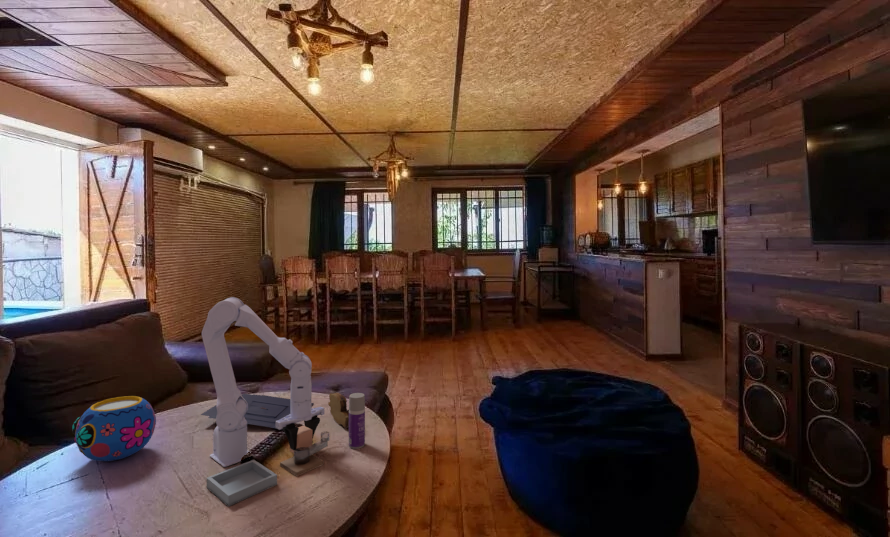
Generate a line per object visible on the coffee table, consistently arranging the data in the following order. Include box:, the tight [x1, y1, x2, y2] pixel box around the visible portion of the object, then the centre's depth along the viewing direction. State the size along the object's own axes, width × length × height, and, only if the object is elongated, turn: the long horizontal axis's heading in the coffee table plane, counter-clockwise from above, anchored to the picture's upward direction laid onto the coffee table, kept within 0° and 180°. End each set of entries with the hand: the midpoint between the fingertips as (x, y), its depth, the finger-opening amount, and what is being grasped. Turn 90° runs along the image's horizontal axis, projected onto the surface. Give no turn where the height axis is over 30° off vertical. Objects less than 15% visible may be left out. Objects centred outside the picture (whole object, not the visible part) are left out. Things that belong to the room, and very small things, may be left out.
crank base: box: [279, 454, 324, 477], centre depth 112 cm, size 8×8×1 cm
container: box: [348, 392, 366, 450], centre depth 124 cm, size 5×5×15 cm
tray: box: [206, 459, 278, 507], centre depth 102 cm, size 12×12×2 cm
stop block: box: [289, 425, 313, 454], centre depth 121 cm, size 4×4×6 cm
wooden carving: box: [328, 392, 349, 429], centre depth 140 cm, size 16×5×10 cm, turn 40°
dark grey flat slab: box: [200, 393, 314, 429], centre depth 146 cm, size 24×30×4 cm
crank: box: [293, 430, 330, 464], centre depth 116 cm, size 12×4×4 cm, turn 151°
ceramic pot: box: [71, 395, 157, 462], centre depth 116 cm, size 18×18×15 cm
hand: (301, 445), depth 121 cm, fingers closed on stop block, 4 cm apart
